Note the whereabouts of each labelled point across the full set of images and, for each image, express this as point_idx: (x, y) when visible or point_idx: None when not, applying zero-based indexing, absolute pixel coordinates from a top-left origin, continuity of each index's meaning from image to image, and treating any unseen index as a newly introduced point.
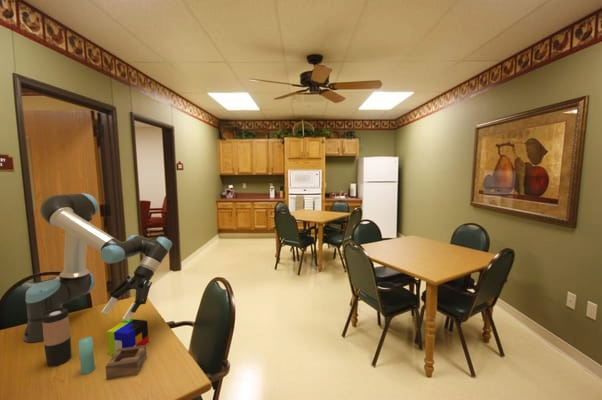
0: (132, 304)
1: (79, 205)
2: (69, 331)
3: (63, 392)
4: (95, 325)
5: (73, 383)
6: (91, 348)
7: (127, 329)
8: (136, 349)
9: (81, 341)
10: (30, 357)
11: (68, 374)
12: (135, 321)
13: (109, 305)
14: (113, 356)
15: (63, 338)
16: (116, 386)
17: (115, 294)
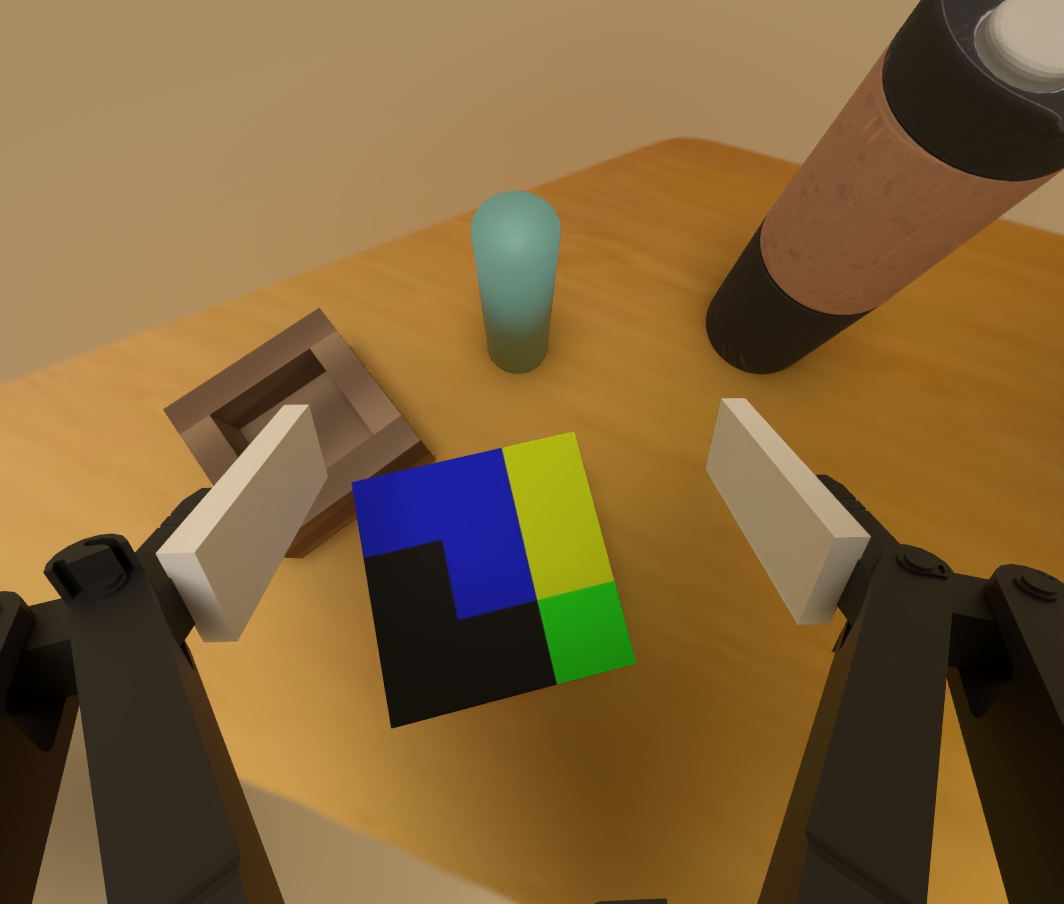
0: (193, 527)
1: None
2: (821, 272)
3: (459, 225)
4: None
5: None
6: (479, 285)
7: (427, 525)
8: None
9: (519, 205)
10: (933, 279)
11: (578, 292)
12: (497, 658)
13: (757, 481)
14: (365, 380)
15: (773, 236)
16: (251, 339)
17: (870, 593)
